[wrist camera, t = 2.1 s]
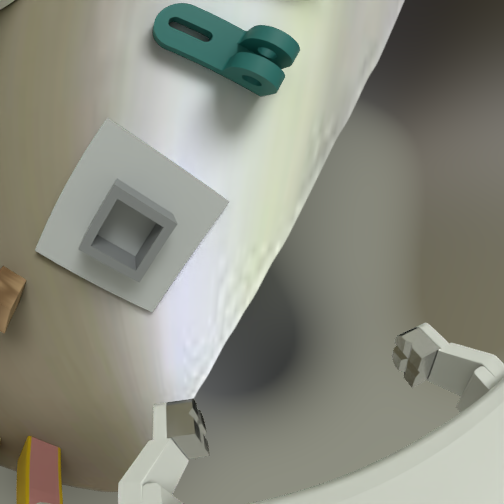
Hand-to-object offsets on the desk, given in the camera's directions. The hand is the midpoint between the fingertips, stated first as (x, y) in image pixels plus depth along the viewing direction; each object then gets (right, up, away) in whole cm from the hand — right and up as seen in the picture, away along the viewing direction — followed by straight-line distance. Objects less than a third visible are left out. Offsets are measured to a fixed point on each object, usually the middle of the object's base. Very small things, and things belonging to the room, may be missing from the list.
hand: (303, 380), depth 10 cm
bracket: (-7, +32, +22) cm, 39 cm away
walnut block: (-38, 0, +23) cm, 44 cm away
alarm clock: (-58, -48, +36) cm, 84 cm away
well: (-18, +9, +27) cm, 34 cm away
